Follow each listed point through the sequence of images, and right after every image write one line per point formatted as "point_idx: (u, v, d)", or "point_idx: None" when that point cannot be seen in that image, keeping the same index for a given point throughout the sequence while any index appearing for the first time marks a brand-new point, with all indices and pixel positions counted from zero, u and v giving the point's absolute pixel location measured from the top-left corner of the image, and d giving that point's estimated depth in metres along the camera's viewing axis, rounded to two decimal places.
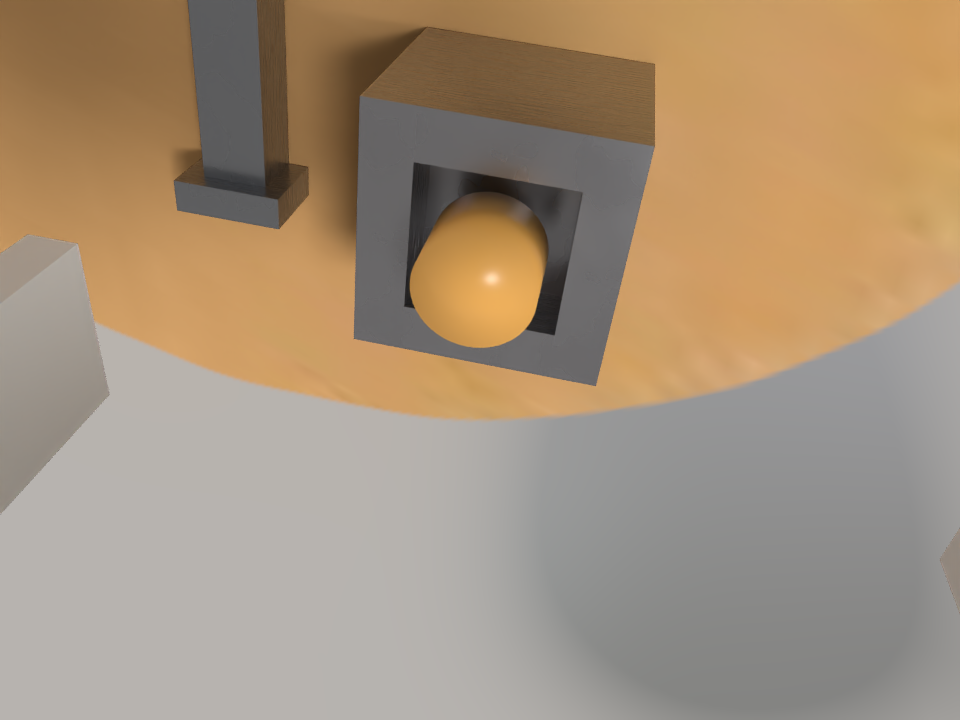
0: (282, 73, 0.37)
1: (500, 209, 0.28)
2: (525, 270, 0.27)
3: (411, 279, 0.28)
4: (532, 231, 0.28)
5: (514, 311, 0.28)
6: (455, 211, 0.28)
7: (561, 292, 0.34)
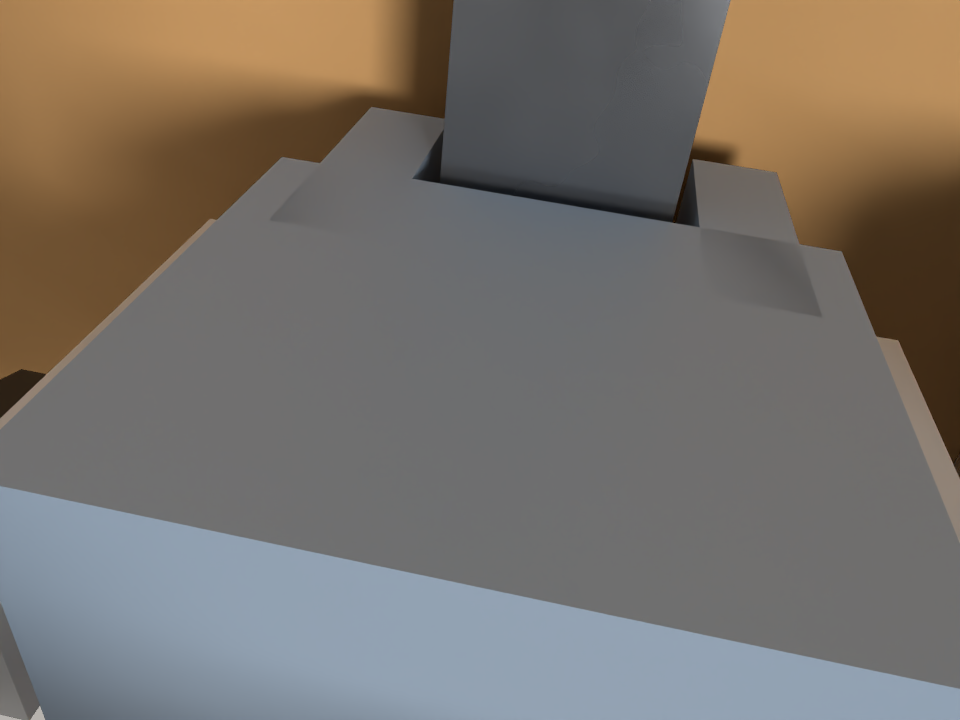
0: None
1: None
2: None
3: None
4: None
5: None
6: None
7: None
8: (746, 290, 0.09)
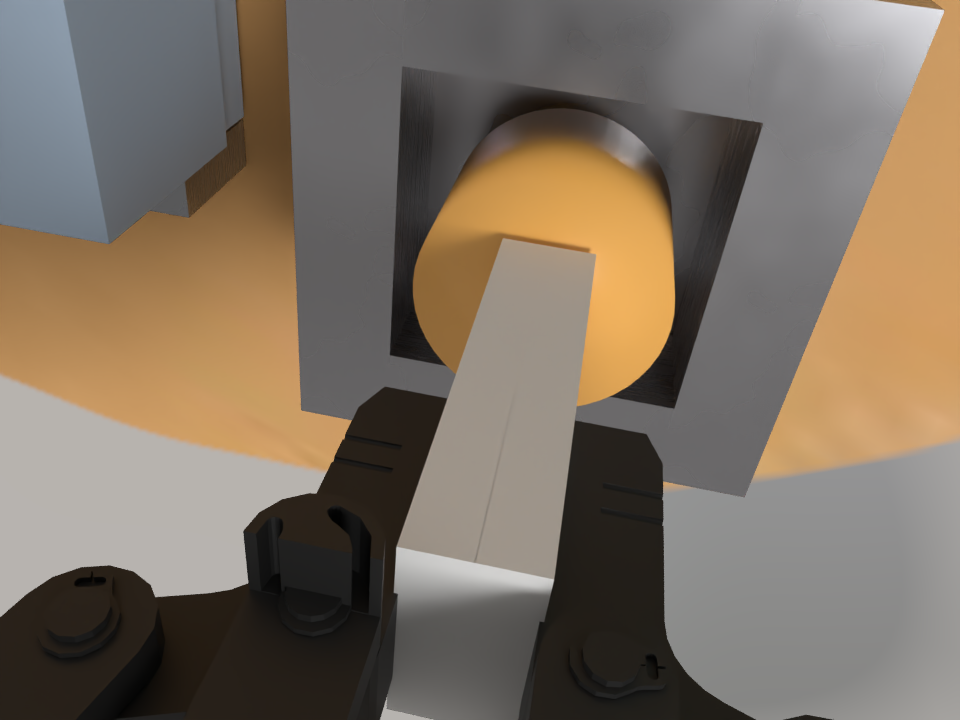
0: None
1: (591, 137, 0.14)
2: (653, 256, 0.13)
3: (416, 277, 0.14)
4: (653, 182, 0.14)
5: (624, 340, 0.14)
6: (501, 143, 0.14)
7: None
8: None
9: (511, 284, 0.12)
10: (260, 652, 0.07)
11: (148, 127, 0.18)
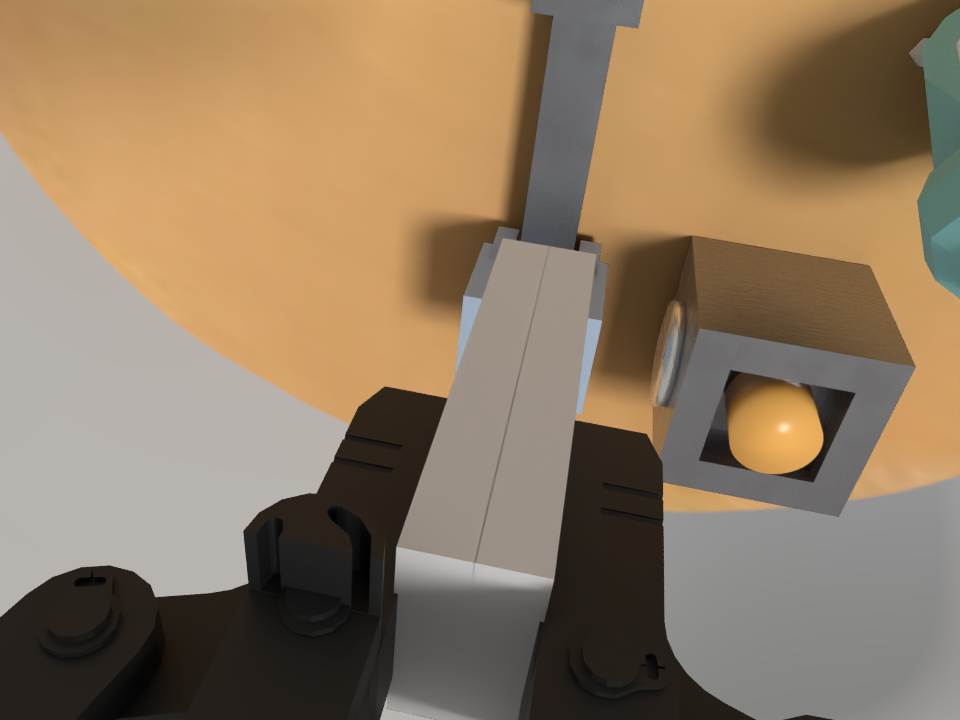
0: None
1: None
2: (817, 427, 0.39)
3: (732, 430, 0.40)
4: (811, 394, 0.41)
5: (803, 452, 0.40)
6: (757, 381, 0.41)
7: None
8: None
9: (511, 283, 0.12)
10: (260, 652, 0.07)
11: None
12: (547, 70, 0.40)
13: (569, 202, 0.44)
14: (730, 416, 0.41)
